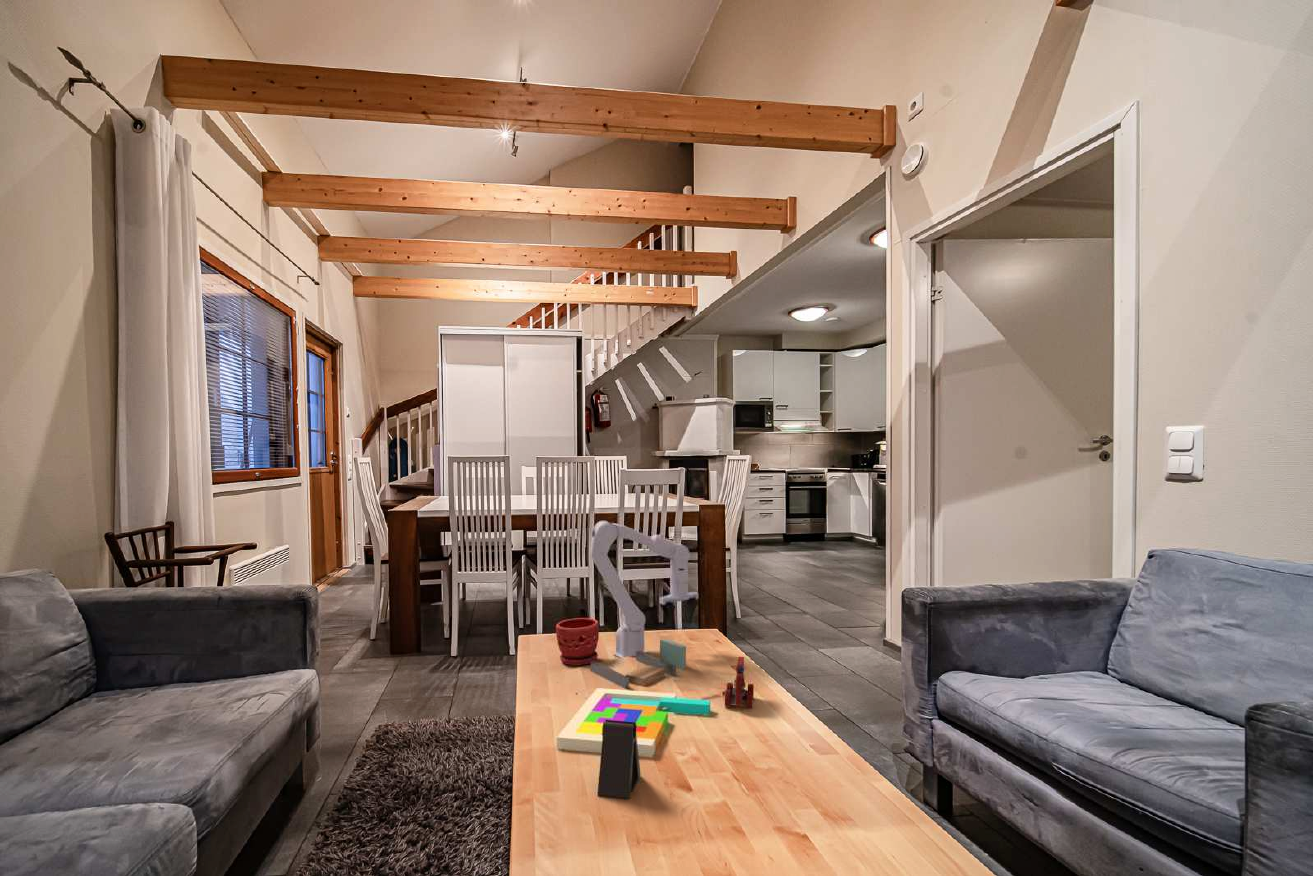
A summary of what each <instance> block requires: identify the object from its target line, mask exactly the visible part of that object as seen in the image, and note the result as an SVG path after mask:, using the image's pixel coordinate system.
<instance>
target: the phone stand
mask: <svg viewBox="0 0 1313 876" xmlns="http://www.w3.org/2000/svg"><path fill="white" fill-rule="evenodd" d="M605 721H606V722H604V723H603V728H602V750H601V753H600V761H599V762H600V763H599V771H598V772H599V773H598V775H599V776H598V785H597V797H598V796H599V797H606V798H614V797H615V798H616V799H623V798H625V799H624V800H630V798H631V796H630V795H632V794H633V792H634V790H635V788H636V786H637V784H638V782H639V780H640V778H641V776H642V775H641V766H640V756H639V755H638V746H637V736H636V729H637V727H636V722H626V721H615V720H605ZM634 787H635V788H634ZM631 793H632V794H631ZM629 797H630V798H629Z"/></svg>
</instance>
